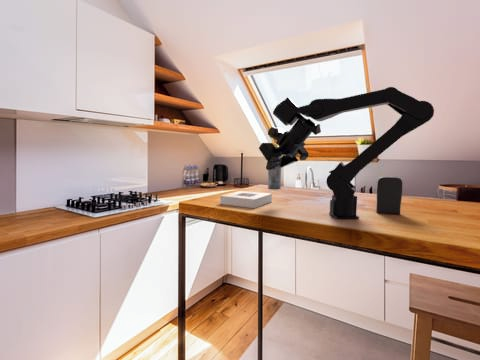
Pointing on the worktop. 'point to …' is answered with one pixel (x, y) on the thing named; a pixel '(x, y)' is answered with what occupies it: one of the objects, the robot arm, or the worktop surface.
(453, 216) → the worktop surface
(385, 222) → the worktop surface
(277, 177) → the translucent grey tall cylinder
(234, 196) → the hole block
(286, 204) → the worktop surface
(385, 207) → the battery
